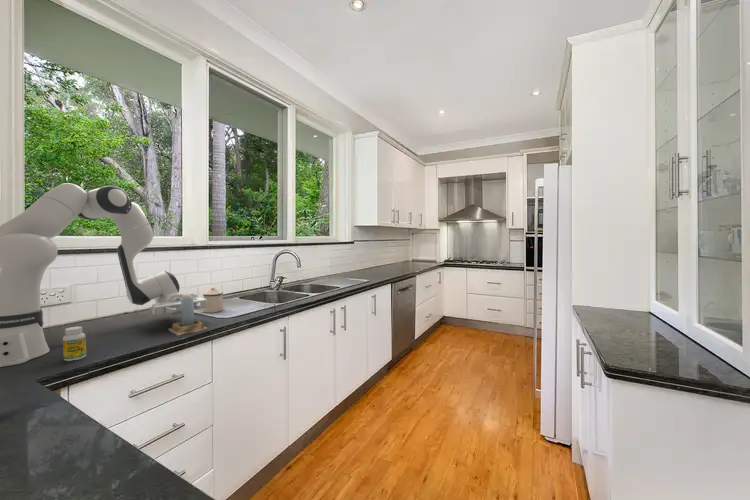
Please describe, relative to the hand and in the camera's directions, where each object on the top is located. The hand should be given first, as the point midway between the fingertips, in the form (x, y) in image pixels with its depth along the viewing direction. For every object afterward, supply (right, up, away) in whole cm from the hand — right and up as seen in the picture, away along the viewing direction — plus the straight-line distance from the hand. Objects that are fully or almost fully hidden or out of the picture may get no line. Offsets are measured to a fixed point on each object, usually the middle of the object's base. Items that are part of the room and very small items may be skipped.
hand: (186, 309), depth 136 cm
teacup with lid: (-6, -7, +32) cm, 33 cm away
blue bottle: (0, -8, 0) cm, 8 cm away
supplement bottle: (-18, -10, -30) cm, 37 cm away
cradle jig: (0, -8, 0) cm, 8 cm away
